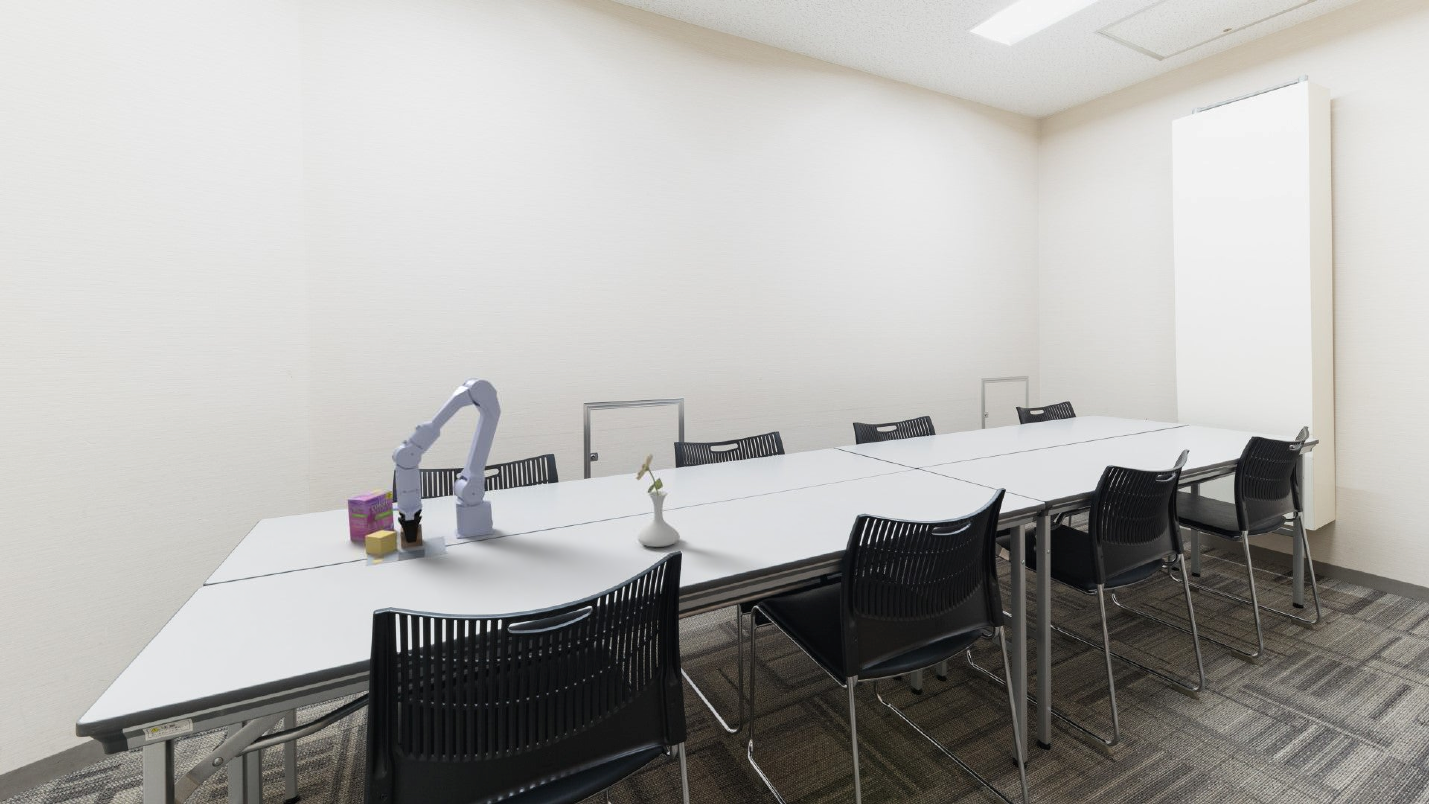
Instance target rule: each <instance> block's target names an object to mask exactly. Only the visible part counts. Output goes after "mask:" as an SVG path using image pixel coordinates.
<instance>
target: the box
mask: <svg viewBox="0 0 1429 804" xmlns="http://www.w3.org/2000/svg"><path fill="white" fill-rule="evenodd" d="M393 507H394V505H393V491H392V490H387V489H386V490H385V489H375V490H371V491H369V492H366V493H363V494H360V495H357V496H354V497H351V498H349V499H347V509H348V520H349V521H348V522H349V523H348V526H349V538H350V541H359V542H360V541H361V542H366V540H365V536H367V535H370V534H372V533H375V532H378V531H381V530H385V531H393V530H395V521H394V511H393Z"/></svg>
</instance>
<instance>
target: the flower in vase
mask: <svg viewBox="0 0 1429 804" xmlns="http://www.w3.org/2000/svg"><path fill="white" fill-rule="evenodd" d="M653 457H654V455H653V454H652V453H651V454H649V455H648V456H647V458H646V460H645V463H642V465H641V469H640V470H639V471H638V472H637V474H636V477H635V479H636V480H637V481H640V480H641V479H642V477H643V476H644V475H645V473H646V472H648V473H649V474H650V476H651V478H652V480H653V483H652V484H651V485H650V486H649V488H648V490H647V492H646V493H647V494H648V496H649V497H650V498H651V501H652V503H653V519H652V521H651V522H650V523H649V524H648V525H646V527H644V528H643V529H642V530H641V531H640V532H639V534H638V535H637V538H636V539H637V540H638V542H639V543H640V544H642V545H644V546H647V547H652V548H653V547H655V548H659V547H660V548H661V547H667V546H671V545H673V544H675V543H677V542H678V541H679V540H680V538H681V536H680V533H679V532H678V531H677V530H676V529H675V528H674V527H672V525H670V524H669V523H668V522H666V521H665V520H664V516H663V507H664V506H663V505H664V501H665V498H666V496H667V495H668V492H666V491H663V490H660V489H661V488H664V487H663V486H664V484H663V481H662V480H661V478H660V477H659V478H658V479H656V480H655V478H654V475H653V472H652V471H651V470H650V464H651V462H652V461H653ZM654 489H655V490H654ZM653 490H654V491H653Z"/></svg>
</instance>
